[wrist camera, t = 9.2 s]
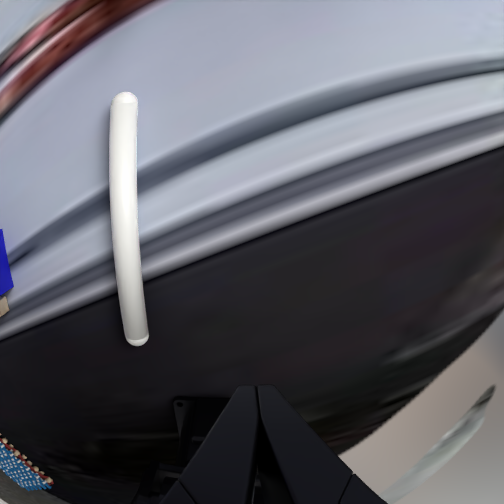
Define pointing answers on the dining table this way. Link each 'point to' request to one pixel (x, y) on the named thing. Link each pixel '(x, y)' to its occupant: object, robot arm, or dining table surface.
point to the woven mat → (21, 468)
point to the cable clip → (4, 268)
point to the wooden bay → (3, 305)
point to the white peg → (126, 216)
